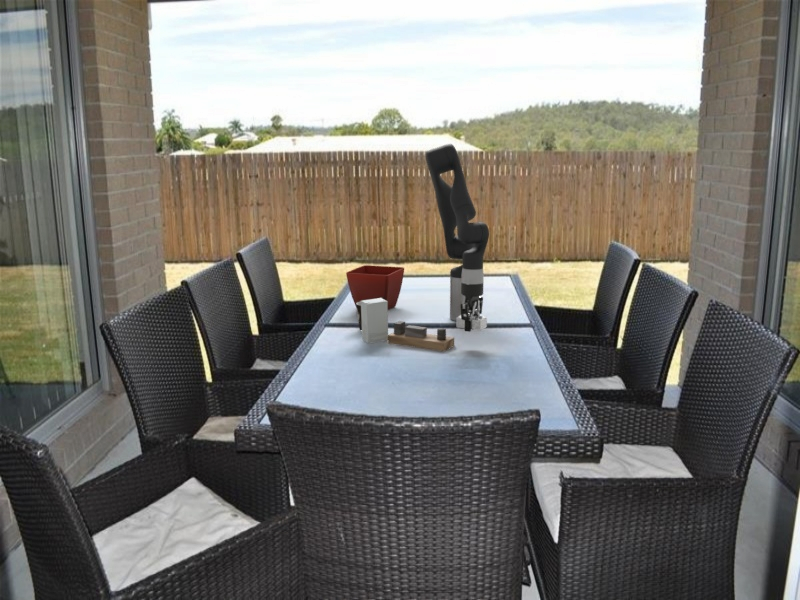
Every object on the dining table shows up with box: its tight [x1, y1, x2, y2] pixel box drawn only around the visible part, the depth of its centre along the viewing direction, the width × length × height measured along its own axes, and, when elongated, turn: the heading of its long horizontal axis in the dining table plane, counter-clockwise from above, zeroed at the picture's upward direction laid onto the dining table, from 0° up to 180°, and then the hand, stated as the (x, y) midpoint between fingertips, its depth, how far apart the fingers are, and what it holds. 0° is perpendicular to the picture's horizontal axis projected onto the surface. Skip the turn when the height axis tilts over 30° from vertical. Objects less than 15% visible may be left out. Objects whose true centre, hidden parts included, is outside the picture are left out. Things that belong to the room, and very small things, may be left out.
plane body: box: [387, 320, 455, 352], centre depth 261 cm, size 8×22×7 cm, turn 61°
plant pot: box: [345, 264, 405, 311], centre depth 314 cm, size 19×19×17 cm
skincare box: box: [361, 298, 389, 344], centre depth 266 cm, size 8×6×15 cm
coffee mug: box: [355, 302, 362, 331], centre depth 284 cm, size 12×9×10 cm
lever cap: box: [455, 315, 488, 331], centre depth 257 cm, size 6×9×4 cm, turn 61°
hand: (471, 329), depth 258 cm, fingers closed on lever cap, 5 cm apart
